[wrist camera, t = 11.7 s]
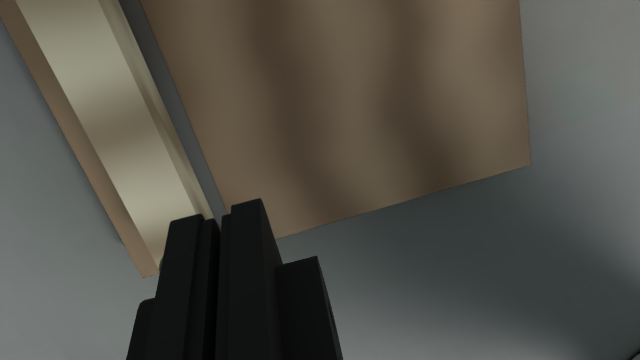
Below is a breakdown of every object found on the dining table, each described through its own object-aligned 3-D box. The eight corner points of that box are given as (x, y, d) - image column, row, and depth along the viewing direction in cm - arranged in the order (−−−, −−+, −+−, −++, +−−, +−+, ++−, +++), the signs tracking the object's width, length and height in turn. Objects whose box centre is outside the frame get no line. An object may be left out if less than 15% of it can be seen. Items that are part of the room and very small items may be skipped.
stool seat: (486, -185, 26) (506, -189, 24) (516, 150, 35) (532, 166, 33) (-8, -37, 26) (-28, -30, 24) (146, 257, 35) (141, 280, 33)
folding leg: (230, 250, 33) (229, 282, 30) (178, 266, 33) (173, 300, 30) (96, -53, 24) (80, -44, 22) (27, -32, 24) (1, -20, 22)
